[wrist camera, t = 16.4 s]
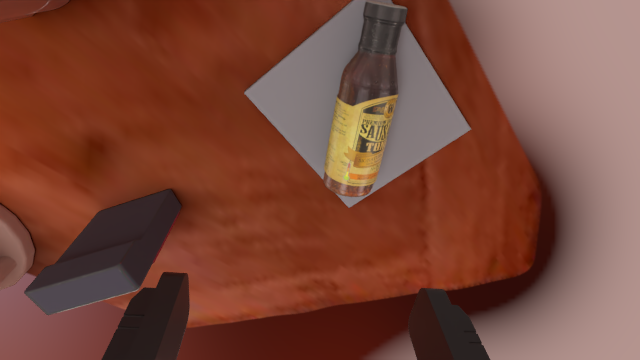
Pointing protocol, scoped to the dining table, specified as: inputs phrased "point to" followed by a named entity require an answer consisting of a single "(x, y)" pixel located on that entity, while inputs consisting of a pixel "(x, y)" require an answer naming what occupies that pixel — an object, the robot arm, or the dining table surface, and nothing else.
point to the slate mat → (323, 86)
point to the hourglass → (13, 249)
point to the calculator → (107, 255)
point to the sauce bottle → (365, 104)
